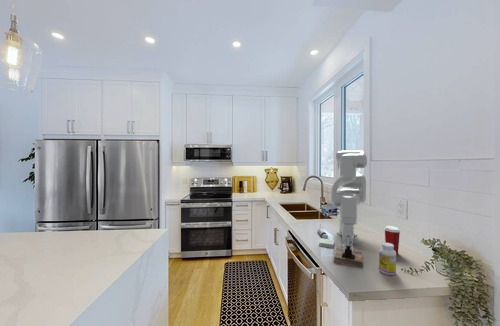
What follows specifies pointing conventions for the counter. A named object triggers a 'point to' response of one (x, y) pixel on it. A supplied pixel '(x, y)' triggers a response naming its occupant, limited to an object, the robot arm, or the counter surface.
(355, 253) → the walnut flange plate
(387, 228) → the paper cup
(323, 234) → the torpedo
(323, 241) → the tab
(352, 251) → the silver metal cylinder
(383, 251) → the supplement bottle
